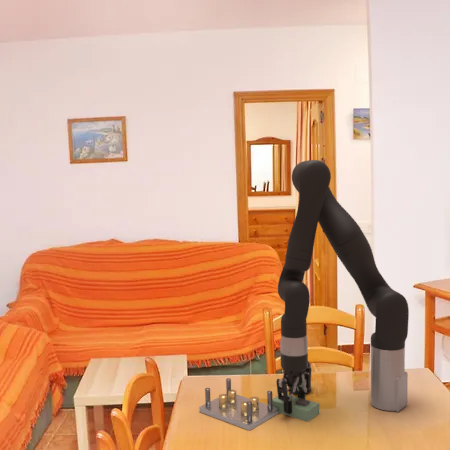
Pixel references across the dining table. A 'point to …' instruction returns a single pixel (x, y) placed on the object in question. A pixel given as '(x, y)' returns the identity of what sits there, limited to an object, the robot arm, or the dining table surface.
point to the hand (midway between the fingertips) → (294, 408)
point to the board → (298, 408)
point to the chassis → (239, 408)
